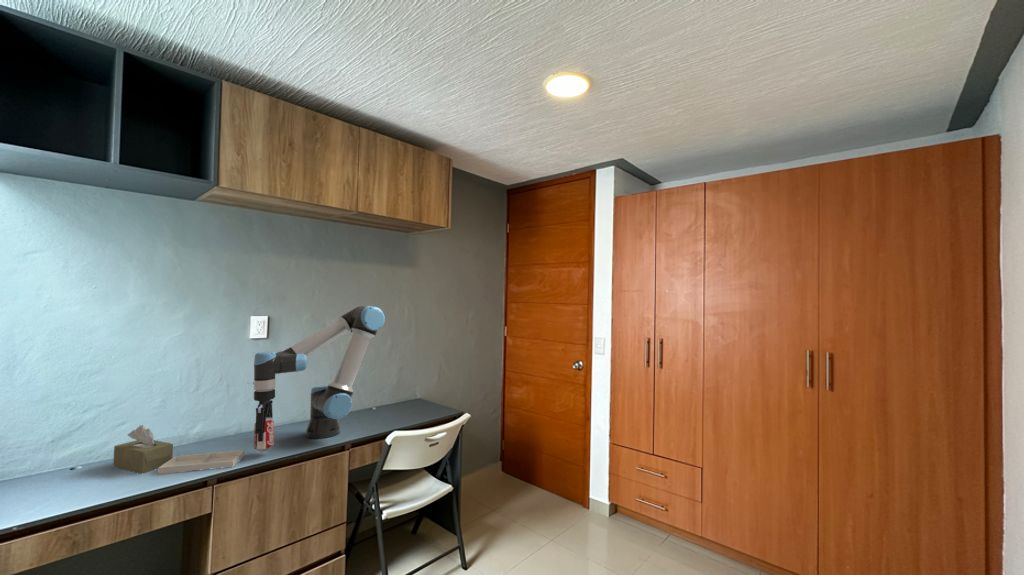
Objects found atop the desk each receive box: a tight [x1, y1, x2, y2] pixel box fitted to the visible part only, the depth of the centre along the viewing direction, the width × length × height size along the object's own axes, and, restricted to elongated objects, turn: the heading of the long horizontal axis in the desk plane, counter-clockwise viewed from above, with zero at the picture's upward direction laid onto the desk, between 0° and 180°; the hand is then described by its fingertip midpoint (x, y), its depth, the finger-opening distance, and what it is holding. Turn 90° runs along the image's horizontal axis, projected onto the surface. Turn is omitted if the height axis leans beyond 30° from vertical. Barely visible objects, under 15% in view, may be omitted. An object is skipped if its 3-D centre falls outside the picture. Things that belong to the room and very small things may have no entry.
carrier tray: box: [157, 449, 245, 475], centre depth 156 cm, size 24×12×2 cm, turn 106°
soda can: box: [253, 417, 275, 451], centre depth 165 cm, size 7×7×12 cm
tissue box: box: [112, 424, 174, 475], centre depth 155 cm, size 19×10×16 cm, turn 69°
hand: (264, 445), depth 165 cm, fingers closed on soda can, 7 cm apart
